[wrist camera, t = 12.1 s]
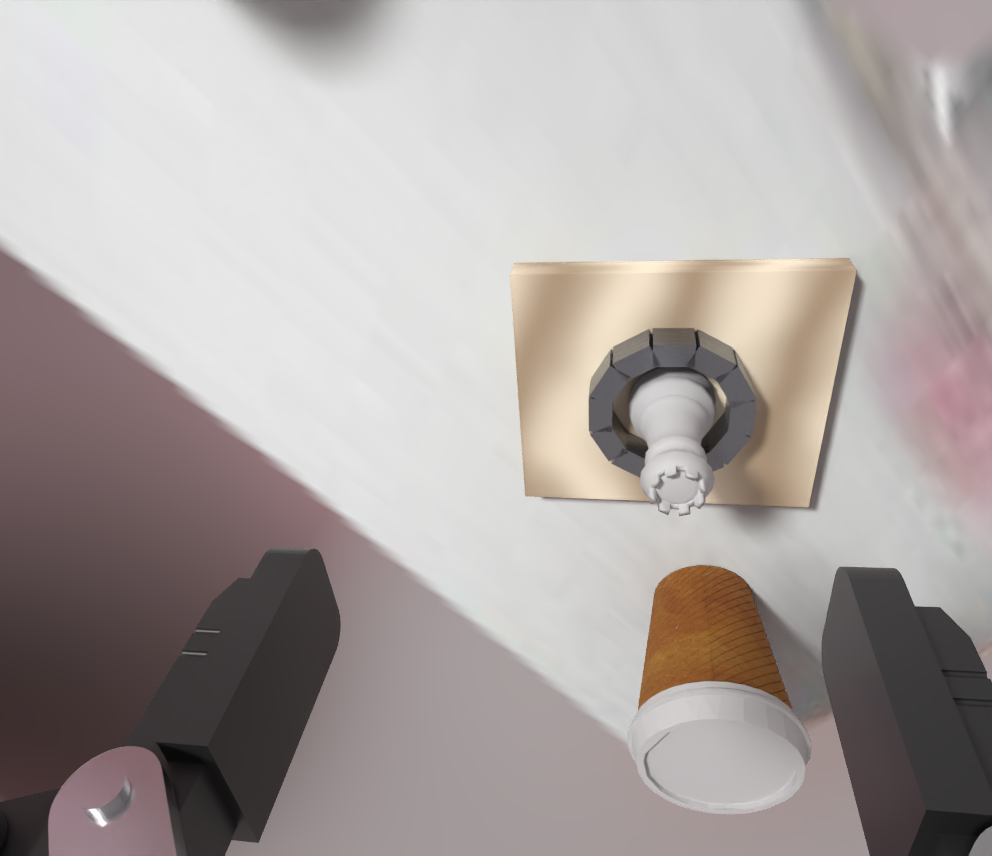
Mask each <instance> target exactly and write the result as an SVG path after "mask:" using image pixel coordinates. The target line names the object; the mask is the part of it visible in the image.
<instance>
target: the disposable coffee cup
mask: <svg viewBox="0 0 992 856" xmlns="http://www.w3.org/2000/svg"><path fill="white" fill-rule="evenodd" d="M756 608H757V607H756V604H755V602H754V598H753V596H752V591H751V590H750V588H749V586H748V584H747V583H746V582H745V581H744V580H743V579H742V578H741V577H739V576H738V575H736V574H735V573H733V572H731V571H728V570H726V569H723V568H720V567H714V566H705V565H699V566H691V567H686V568H682V569H679V570H677V571H675V572H672V573H671V574H669V575H668V576H667V577H665V578H664V579H663V580H662V581H661V582H660V583H659V584H658V586H657V588H656V590H655V593H654V601H653V607H652V615H651V622H650V629H649V636H648V642H647V649H646V656H645V663H644V671H643V678H642V684H641V691H640V699H639V707H638V712H637V713H636V715H635V717H634V719H633V721H632V722H631V725H630V729H629V732H628V749H629V751H630V753H631V756H632V758H633V759H634V761H635V762H636V765H637V769H638V773H639V775H640V776H641V778H642V779H643V781H644V783H645V784H646V785H647V786H648V787H649V788H650V789H651V790H652V791H653V792H655V793H656V794H658V795H659V796H661V797H662V798H664V799H666V800H668V801H670V802H672V803H674V804H676V805H679V806H682V807H685V808H688V809H693V810H696V811H700V812H707V813H714V814H742V813H750V812H755V811H759V810H764V809H767V808H769V807H772V806H774V805H776V804H778V803H781V802H783V801H785V800H787V799H788V798H790V797H791V796H792V795H794V794H795V793H796V791H797V790H798V789H799V788H800V787H801V785H802V782H803V780H804V777H805V772H806V764H807V763H808V761H809V759H810V754H811V741H810V738H809V736H808V732H807V730H806V729H805V727H804V726H803V724H802V723H801V721H800V720H799V718H798V717H797V715H796V714H795V713H794V712H793V711H792V710H791V709H792V707H791V704H790V702H789V700H788V695H787V693H786V691H785V687H784V684H783V682H781V681H782V678H781V676H780V673H778V672H779V669H778V667H777V665H776V664H775V663H776V661H775V658H774V656H772V655H773V652H772V650H771V647H770V644H769V641H768V639H767V635H766V633H765V631H764V627H763V624H762V621H761V618H760V616H759V613H758V610H757V609H756Z"/></svg>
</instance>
